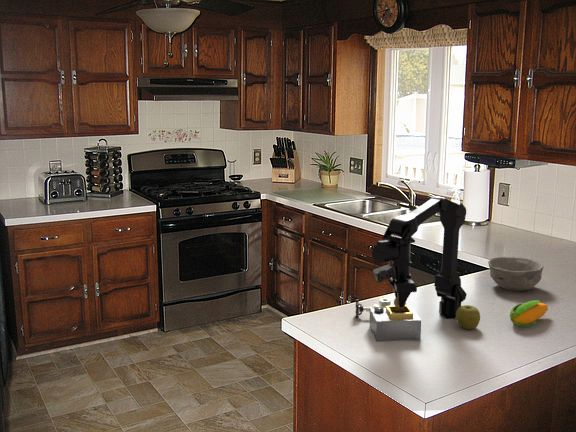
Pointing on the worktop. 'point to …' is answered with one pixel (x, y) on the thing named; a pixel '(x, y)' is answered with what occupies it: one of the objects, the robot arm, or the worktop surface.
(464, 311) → the apple
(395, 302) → the bead
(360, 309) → the valve
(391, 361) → the worktop surface
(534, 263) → the bowl
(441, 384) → the worktop surface
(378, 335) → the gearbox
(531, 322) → the corn
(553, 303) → the worktop surface
